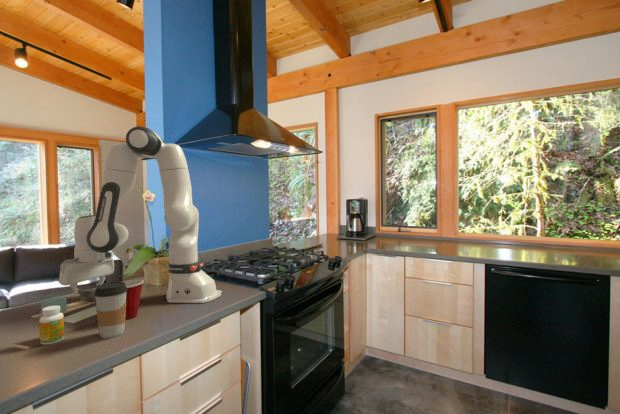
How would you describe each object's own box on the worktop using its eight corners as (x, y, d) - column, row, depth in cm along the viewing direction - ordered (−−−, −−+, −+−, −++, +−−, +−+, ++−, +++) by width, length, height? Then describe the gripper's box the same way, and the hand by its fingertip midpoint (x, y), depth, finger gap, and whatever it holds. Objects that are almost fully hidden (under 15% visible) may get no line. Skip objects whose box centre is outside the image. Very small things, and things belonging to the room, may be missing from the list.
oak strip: (101, 301, 122) (101, 290, 122) (47, 320, 103) (46, 307, 103) (86, 299, 125) (86, 288, 124) (30, 318, 105) (29, 305, 105)
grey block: (126, 304, 119) (125, 292, 119) (74, 324, 100) (73, 310, 100) (109, 302, 121) (109, 290, 121) (56, 322, 102) (55, 308, 102)
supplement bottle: (50, 346, 86) (49, 311, 86) (35, 344, 87) (33, 310, 87) (69, 337, 91) (68, 305, 91) (54, 335, 92) (53, 303, 92)
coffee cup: (123, 338, 90) (122, 287, 90) (90, 342, 88) (89, 290, 88) (131, 326, 98) (130, 280, 98) (101, 330, 96) (100, 282, 96)
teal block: (66, 310, 111) (66, 297, 111) (51, 316, 106) (51, 301, 106) (56, 309, 112) (56, 296, 112) (41, 314, 107) (40, 300, 107)
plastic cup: (122, 310, 112) (121, 278, 112) (151, 311, 112) (150, 278, 112) (100, 323, 101) (99, 287, 101) (132, 323, 101) (131, 287, 101)
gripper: (67, 261, 111) (67, 299, 111) (116, 252, 130) (117, 284, 131) (54, 260, 112) (54, 297, 113) (105, 251, 132) (105, 283, 132)
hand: (88, 290), depth 122 cm, fingers open, 8 cm apart
